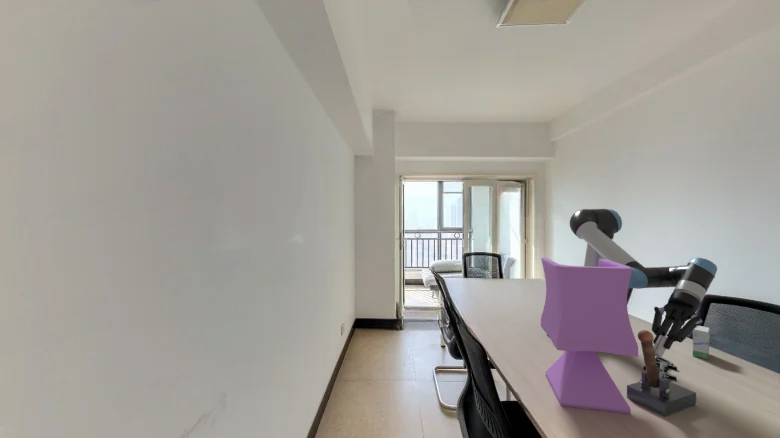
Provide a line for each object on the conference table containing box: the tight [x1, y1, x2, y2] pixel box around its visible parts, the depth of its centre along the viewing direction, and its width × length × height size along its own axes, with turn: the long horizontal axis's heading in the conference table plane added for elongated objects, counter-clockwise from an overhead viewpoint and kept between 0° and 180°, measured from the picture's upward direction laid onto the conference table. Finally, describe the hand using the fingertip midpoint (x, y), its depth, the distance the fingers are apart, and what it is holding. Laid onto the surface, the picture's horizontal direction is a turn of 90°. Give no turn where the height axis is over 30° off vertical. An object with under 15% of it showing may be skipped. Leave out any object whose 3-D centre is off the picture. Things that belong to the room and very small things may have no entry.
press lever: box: [637, 329, 660, 388], centre depth 103 cm, size 4×4×19 cm
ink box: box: [692, 325, 710, 360], centre depth 139 cm, size 8×5×12 cm, turn 133°
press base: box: [626, 370, 697, 417], centre depth 105 cm, size 11×16×9 cm
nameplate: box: [643, 356, 678, 382], centre depth 124 cm, size 28×2×10 cm
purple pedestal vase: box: [540, 257, 639, 415], centre depth 110 cm, size 22×22×45 cm
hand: (656, 354), depth 103 cm, fingers closed
